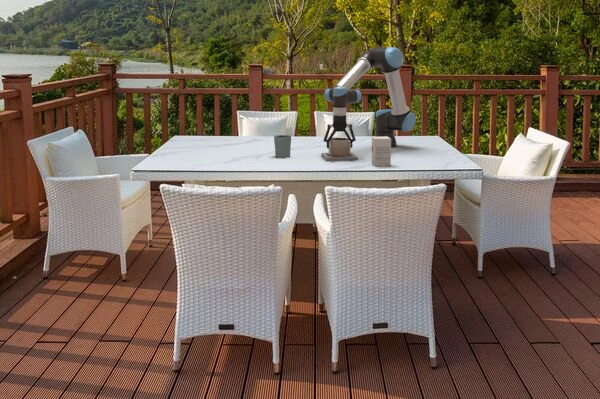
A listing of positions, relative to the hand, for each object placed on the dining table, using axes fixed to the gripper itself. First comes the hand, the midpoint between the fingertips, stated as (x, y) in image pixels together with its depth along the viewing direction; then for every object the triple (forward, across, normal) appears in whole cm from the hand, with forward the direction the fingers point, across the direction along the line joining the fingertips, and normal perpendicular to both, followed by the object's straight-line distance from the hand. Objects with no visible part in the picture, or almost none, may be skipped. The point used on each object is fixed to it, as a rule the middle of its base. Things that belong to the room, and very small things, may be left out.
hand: (339, 153), depth 409 cm
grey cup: (+3, -31, +12) cm, 33 cm away
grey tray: (+3, 0, -1) cm, 3 cm away
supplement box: (+3, +18, -25) cm, 31 cm away
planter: (+1, 0, 0) cm, 1 cm away
